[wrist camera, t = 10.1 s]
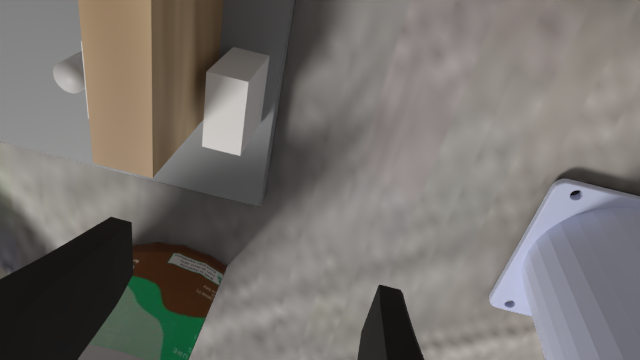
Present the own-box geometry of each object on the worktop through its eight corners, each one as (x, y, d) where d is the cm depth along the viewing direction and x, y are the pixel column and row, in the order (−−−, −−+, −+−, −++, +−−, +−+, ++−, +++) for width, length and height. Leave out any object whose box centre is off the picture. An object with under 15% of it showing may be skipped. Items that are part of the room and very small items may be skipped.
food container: (148, 184, 24) (14, 341, 16) (242, 252, 26) (164, 428, 17) (59, 295, 30) (-74, 451, 22) (139, 345, 32) (44, 509, 23)
